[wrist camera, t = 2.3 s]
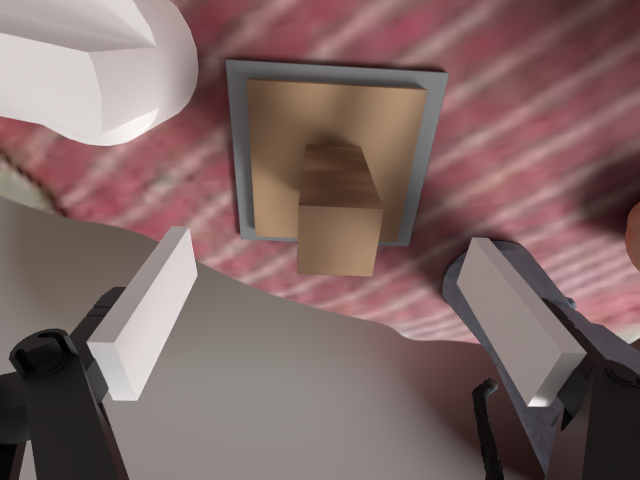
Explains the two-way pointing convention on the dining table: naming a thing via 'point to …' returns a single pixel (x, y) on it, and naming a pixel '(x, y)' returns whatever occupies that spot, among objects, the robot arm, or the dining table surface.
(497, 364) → the moka pot
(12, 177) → the dining table surface
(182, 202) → the dining table surface
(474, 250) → the robot arm
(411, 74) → the rubber mat
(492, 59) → the dining table surface
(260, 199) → the walnut lid
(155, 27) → the cylinder with rectangular tab
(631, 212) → the fruit
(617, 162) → the dining table surface
